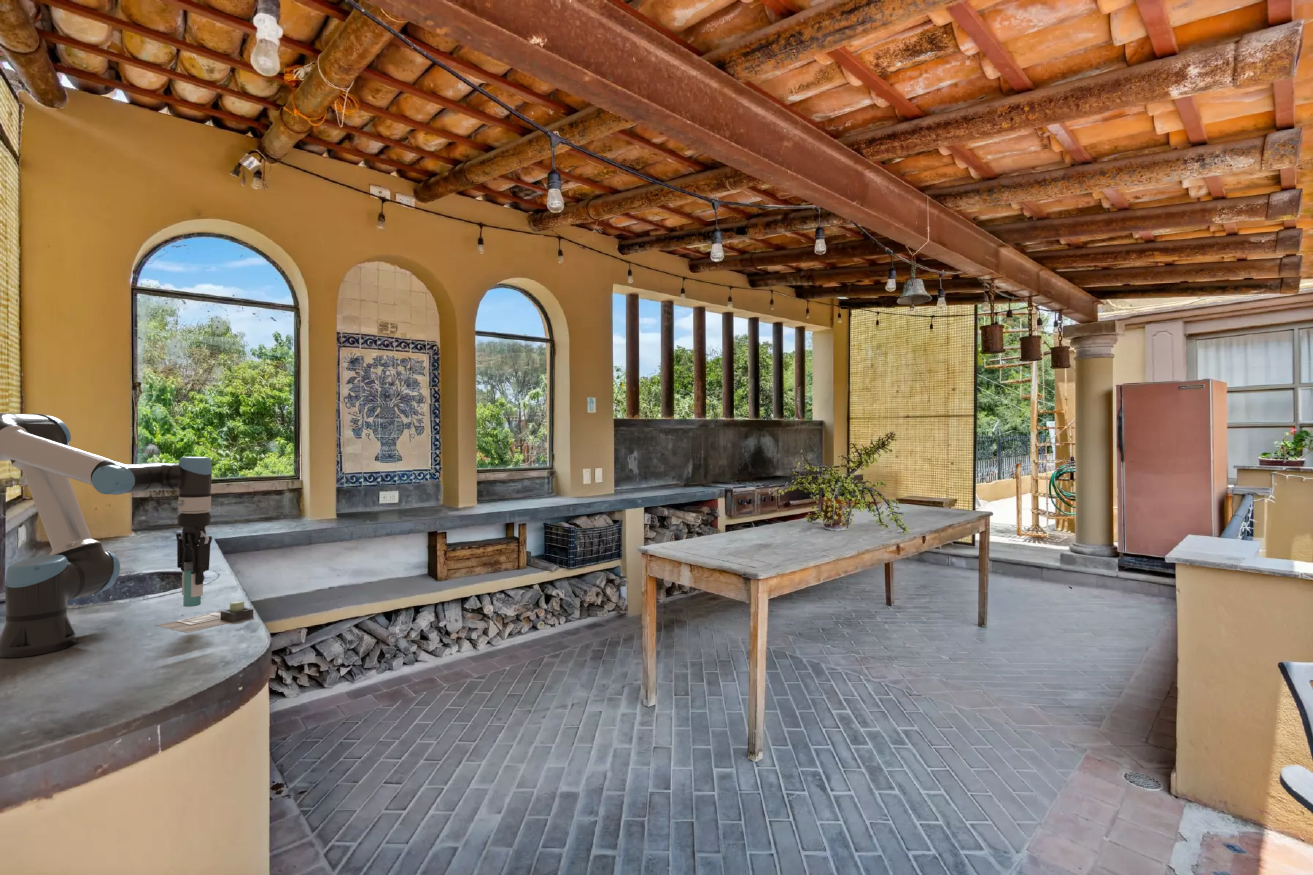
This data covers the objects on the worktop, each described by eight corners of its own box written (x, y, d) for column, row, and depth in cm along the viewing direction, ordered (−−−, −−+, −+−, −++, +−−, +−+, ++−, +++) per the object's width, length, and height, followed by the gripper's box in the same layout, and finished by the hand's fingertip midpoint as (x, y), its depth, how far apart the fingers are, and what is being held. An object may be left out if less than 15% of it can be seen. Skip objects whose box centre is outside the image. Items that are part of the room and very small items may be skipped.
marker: (179, 605, 182) (180, 562, 182) (195, 602, 186) (197, 560, 186) (188, 607, 180) (189, 564, 180) (204, 604, 184) (205, 561, 184)
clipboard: (156, 629, 186) (156, 616, 186) (222, 614, 202) (222, 602, 202) (187, 637, 179) (187, 624, 179) (253, 620, 195) (253, 608, 195)
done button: (227, 612, 193) (227, 603, 193) (239, 609, 196) (239, 600, 196) (234, 614, 191) (234, 604, 191) (246, 611, 194) (246, 601, 194)
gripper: (163, 510, 183) (160, 593, 183) (197, 515, 176) (194, 601, 176) (192, 508, 190) (190, 588, 190) (226, 512, 182) (223, 596, 182)
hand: (192, 594), depth 183 cm, fingers closed on marker, 4 cm apart
